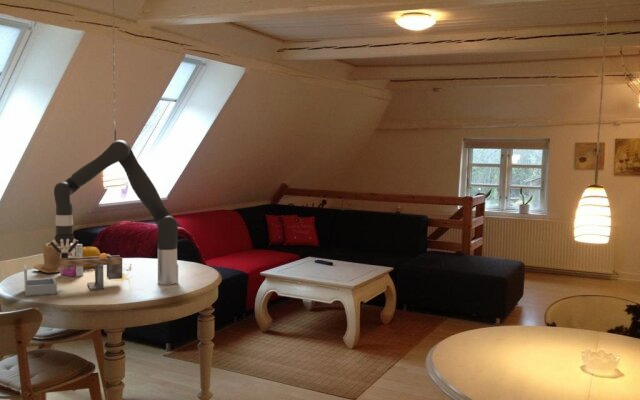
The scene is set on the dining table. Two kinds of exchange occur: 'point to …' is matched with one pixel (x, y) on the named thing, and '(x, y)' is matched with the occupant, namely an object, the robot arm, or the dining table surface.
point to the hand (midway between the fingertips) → (64, 260)
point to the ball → (103, 256)
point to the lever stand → (97, 279)
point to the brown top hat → (49, 259)
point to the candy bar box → (73, 254)
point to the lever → (95, 264)
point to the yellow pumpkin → (90, 253)
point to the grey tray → (39, 285)
